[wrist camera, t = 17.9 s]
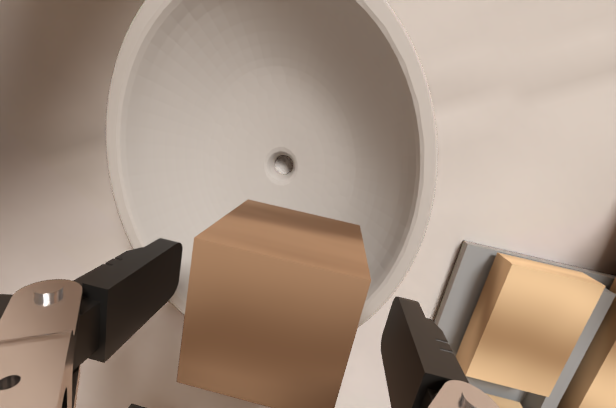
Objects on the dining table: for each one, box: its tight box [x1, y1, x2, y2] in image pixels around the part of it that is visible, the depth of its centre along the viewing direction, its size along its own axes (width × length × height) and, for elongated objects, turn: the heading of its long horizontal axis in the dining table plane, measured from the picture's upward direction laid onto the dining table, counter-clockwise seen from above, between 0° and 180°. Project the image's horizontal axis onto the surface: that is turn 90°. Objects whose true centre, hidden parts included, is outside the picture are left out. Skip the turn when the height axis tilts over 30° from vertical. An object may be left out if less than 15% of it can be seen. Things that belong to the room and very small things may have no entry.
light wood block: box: [456, 252, 605, 397], centre depth 17 cm, size 7×5×2 cm, turn 168°
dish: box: [106, 0, 438, 327], centre depth 15 cm, size 18×14×5 cm
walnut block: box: [177, 199, 371, 408], centre depth 11 cm, size 5×5×5 cm
